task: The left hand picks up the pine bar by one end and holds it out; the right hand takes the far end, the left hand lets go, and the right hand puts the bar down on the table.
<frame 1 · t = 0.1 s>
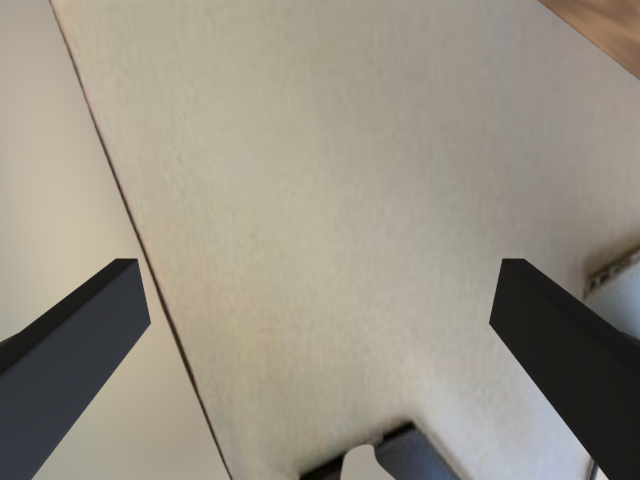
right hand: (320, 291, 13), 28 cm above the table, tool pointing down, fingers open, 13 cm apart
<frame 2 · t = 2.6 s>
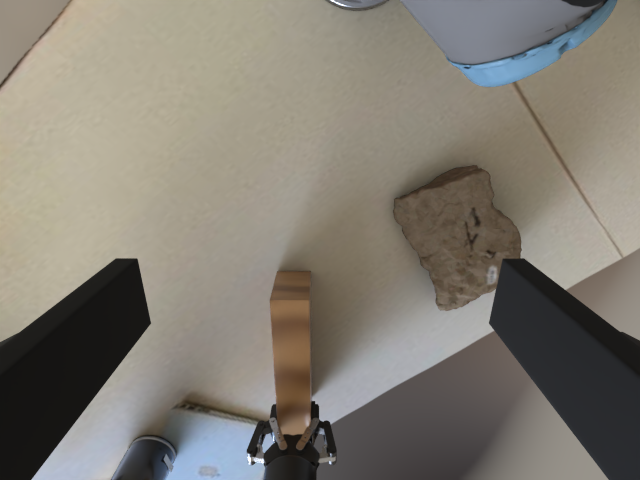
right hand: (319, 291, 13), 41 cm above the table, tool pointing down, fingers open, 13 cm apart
left hand: (295, 404, 62), fingers closed on bar, 5 cm apart
stone: (451, 235, 56), on the table
bar: (296, 339, 63), on the table, touching left hand
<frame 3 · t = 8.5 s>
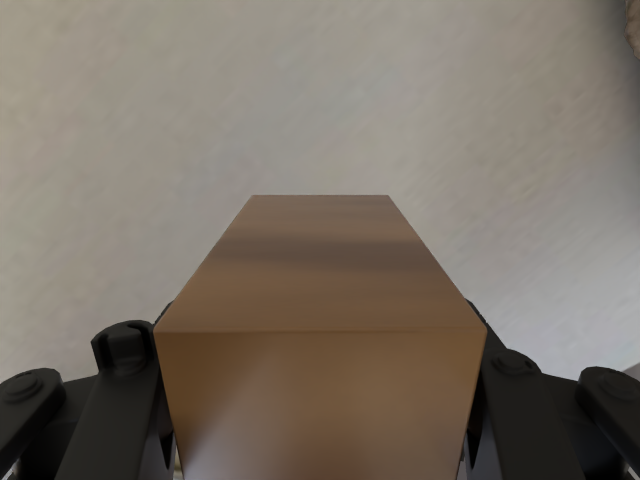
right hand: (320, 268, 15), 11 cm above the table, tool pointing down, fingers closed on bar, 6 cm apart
bar: (319, 437, 19), point 11 cm above the table, touching right hand, left hand
when the right hand's fingers open (3 cm above the table, at t = 13.6 s): bar drops 2 cm, on the table.
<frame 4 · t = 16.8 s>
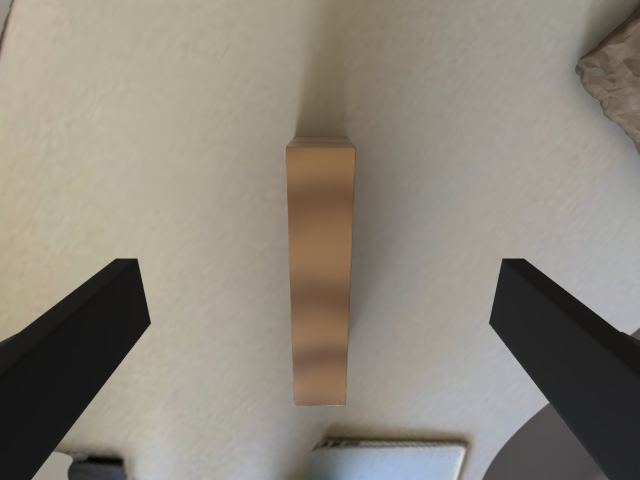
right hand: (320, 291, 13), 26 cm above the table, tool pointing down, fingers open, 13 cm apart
bar: (320, 256, 41), on the table
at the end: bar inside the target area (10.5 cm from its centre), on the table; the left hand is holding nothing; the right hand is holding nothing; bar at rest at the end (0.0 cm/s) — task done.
